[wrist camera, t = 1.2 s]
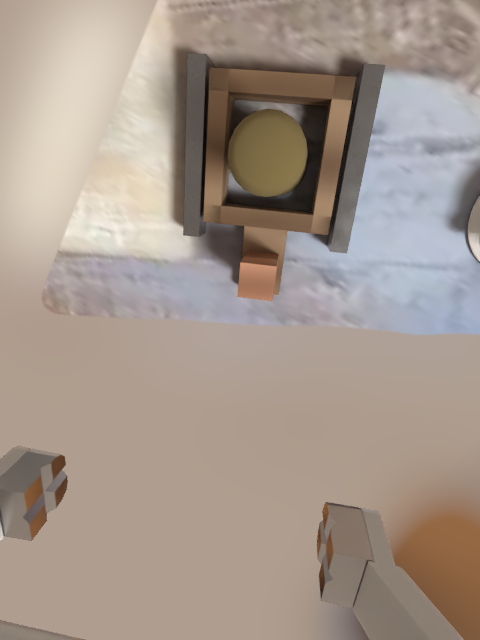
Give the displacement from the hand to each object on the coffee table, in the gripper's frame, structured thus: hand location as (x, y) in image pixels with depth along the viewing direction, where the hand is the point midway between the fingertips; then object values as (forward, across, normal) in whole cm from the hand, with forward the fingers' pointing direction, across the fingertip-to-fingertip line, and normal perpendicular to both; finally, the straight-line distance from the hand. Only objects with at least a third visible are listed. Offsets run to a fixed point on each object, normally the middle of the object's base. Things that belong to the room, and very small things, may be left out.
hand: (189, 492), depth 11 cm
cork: (+27, 0, -11) cm, 29 cm away
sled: (+27, 0, -8) cm, 28 cm away
